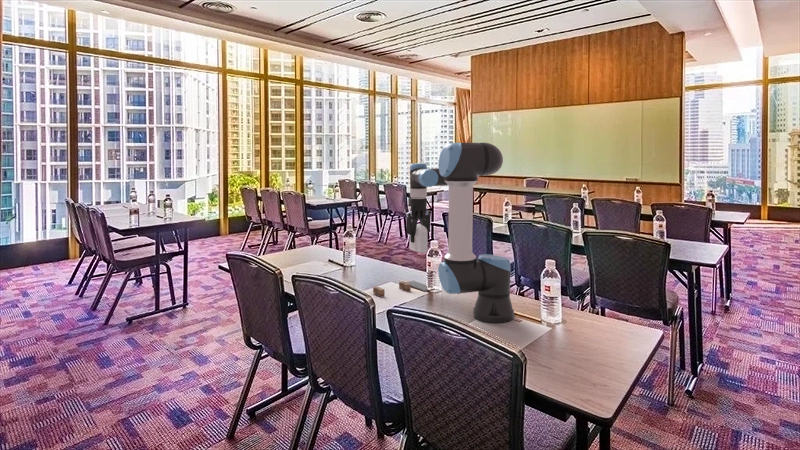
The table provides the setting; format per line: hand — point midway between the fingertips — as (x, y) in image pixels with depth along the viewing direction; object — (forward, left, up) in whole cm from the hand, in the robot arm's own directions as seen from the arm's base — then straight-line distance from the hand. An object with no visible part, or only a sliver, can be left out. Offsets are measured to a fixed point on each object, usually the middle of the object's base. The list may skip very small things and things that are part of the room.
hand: (418, 248), depth 228 cm
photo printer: (0, 0, -1) cm, 1 cm away
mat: (0, 0, -18) cm, 18 cm away
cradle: (0, +15, -18) cm, 23 cm away
